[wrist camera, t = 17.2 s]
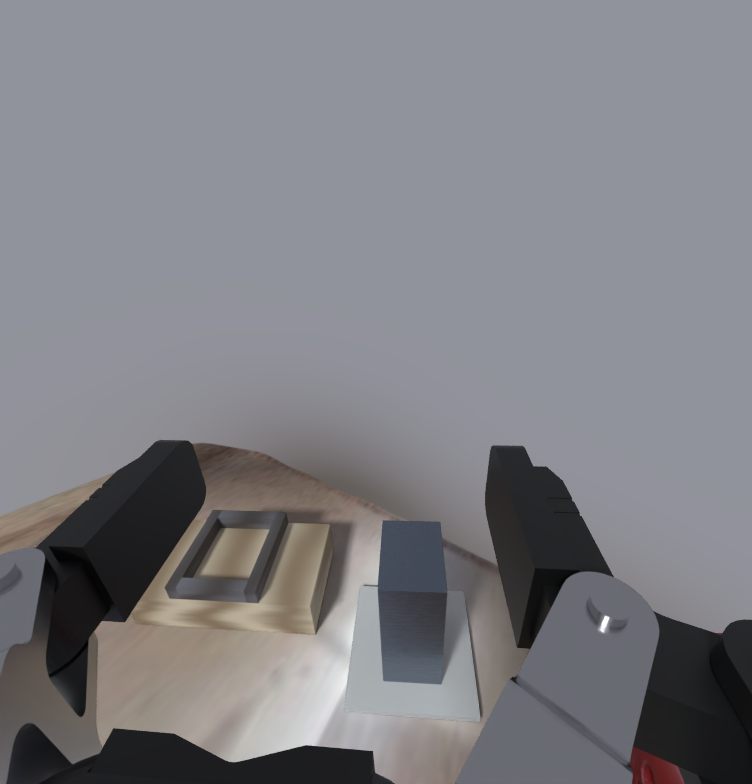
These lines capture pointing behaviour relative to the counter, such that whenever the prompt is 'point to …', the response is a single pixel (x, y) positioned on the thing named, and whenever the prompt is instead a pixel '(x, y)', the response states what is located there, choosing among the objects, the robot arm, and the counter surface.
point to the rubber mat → (412, 698)
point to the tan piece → (242, 575)
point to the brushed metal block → (412, 601)
